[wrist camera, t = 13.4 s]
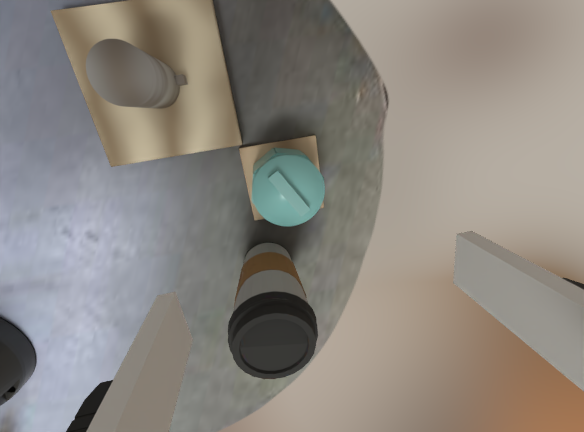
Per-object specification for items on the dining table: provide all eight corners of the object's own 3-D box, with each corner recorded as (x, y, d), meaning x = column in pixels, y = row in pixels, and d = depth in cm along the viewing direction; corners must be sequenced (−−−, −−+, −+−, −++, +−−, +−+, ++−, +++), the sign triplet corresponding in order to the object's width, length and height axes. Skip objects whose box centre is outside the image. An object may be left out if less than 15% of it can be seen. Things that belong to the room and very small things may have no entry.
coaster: (254, 218, 36) (254, 220, 35) (239, 148, 32) (238, 148, 32) (322, 206, 36) (323, 207, 36) (314, 135, 33) (315, 135, 32)
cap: (239, 176, 33) (235, 190, 27) (287, 135, 32) (295, 140, 26) (279, 219, 35) (284, 242, 29) (325, 182, 35) (340, 198, 28)
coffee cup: (235, 234, 36) (223, 309, 22) (299, 233, 37) (325, 305, 23) (237, 289, 39) (227, 387, 25) (296, 286, 40) (318, 379, 26)
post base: (119, 163, 31) (62, 184, 22) (65, 18, 26) (-39, -35, 17) (242, 143, 32) (237, 154, 23) (212, -2, 27) (189, -62, 18)
